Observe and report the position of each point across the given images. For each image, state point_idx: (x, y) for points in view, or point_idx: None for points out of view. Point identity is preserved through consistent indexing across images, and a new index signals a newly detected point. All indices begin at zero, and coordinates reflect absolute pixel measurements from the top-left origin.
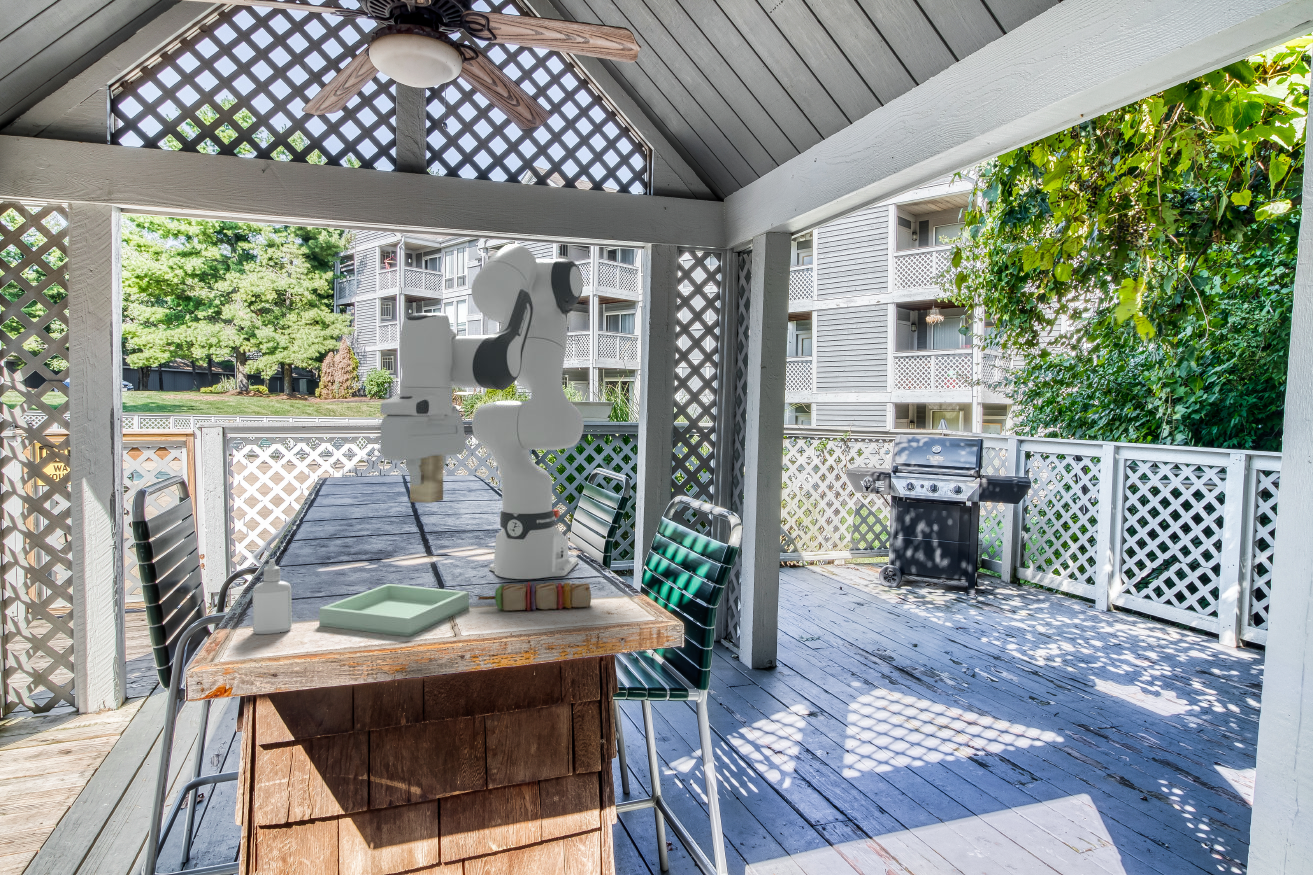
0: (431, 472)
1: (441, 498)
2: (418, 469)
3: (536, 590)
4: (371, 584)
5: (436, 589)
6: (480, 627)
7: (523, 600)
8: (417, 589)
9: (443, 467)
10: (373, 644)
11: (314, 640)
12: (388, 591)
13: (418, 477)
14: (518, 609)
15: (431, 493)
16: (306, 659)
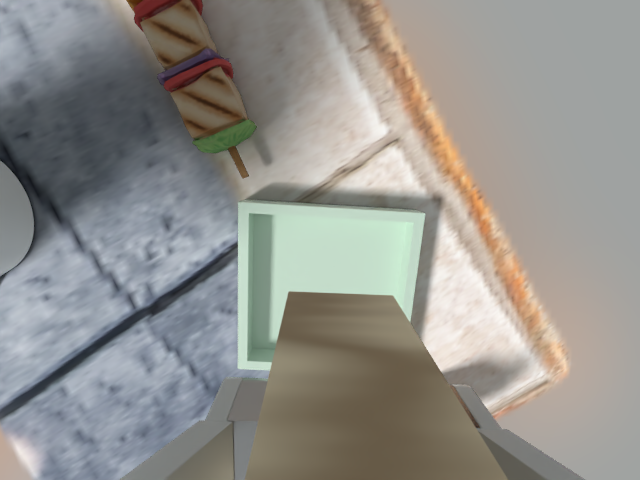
0: (435, 392)
1: (300, 296)
2: (547, 466)
3: (207, 46)
4: (176, 424)
5: (243, 269)
6: (344, 121)
7: (229, 79)
8: (248, 304)
9: (175, 444)
10: (457, 239)
11: (455, 324)
12: (250, 354)
13: (491, 418)
14: (239, 93)
15: (391, 314)
16: (527, 284)
